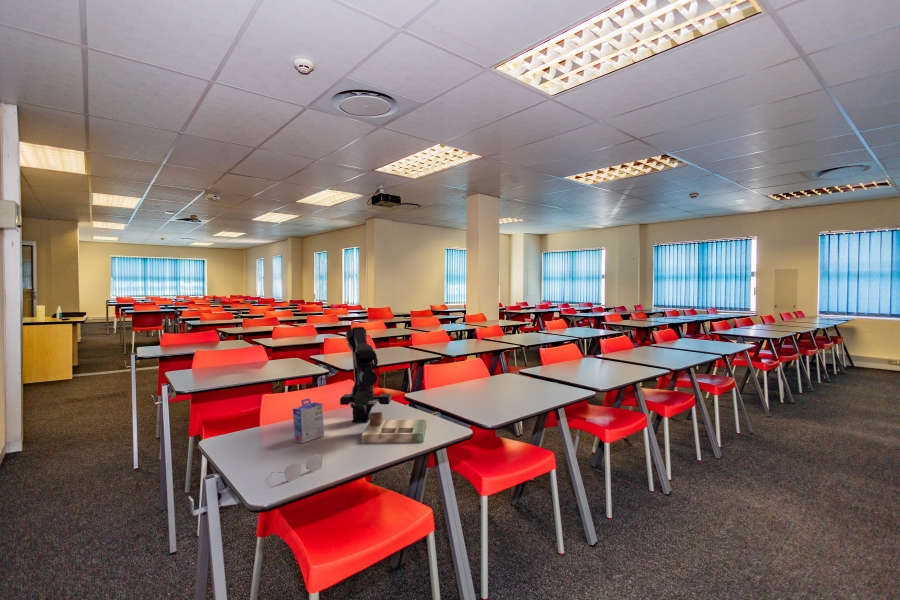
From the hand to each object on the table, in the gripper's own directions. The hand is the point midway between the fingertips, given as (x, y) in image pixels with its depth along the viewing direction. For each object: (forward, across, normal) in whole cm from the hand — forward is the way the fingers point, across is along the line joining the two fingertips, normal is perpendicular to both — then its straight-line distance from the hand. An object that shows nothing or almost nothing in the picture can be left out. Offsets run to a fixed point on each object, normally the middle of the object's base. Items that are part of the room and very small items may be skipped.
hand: (366, 421), depth 163 cm
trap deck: (+4, +12, -4) cm, 13 cm away
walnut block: (+1, +4, 0) cm, 4 cm away
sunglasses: (+5, -14, -35) cm, 37 cm away
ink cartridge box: (+4, -20, -6) cm, 21 cm away
